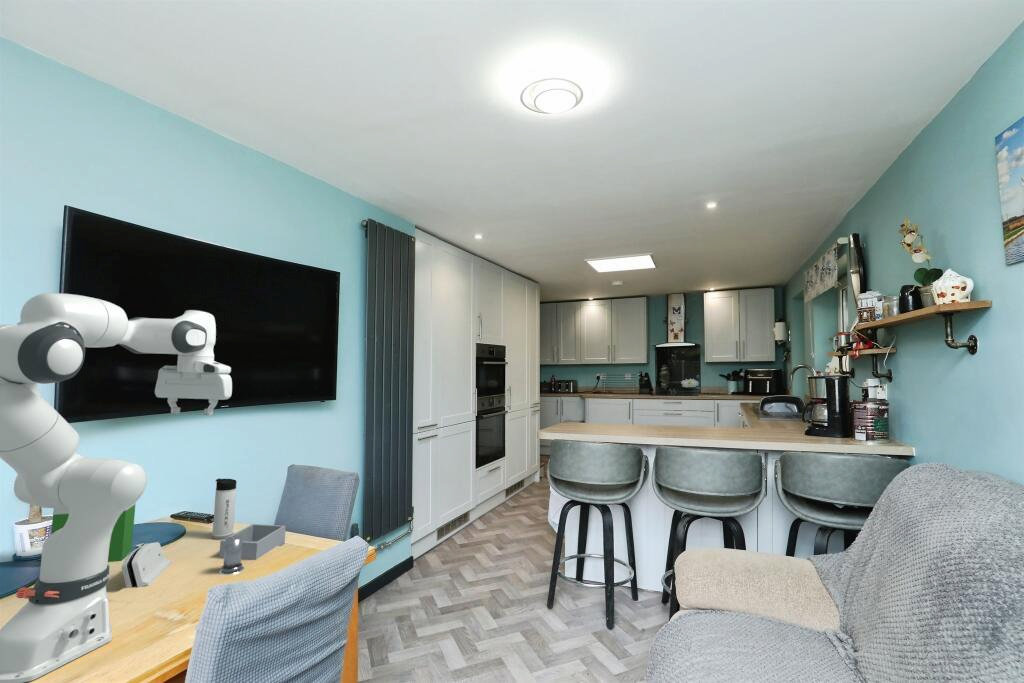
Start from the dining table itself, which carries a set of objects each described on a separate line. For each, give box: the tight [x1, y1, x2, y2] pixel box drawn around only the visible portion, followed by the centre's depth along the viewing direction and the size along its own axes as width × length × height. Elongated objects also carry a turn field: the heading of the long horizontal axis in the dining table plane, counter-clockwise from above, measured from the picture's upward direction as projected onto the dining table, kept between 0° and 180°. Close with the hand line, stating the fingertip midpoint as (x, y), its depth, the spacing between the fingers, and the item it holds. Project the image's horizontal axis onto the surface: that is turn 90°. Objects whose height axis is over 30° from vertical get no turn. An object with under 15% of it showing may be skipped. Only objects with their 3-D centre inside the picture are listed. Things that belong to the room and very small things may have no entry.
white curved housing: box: [121, 541, 173, 589], centre depth 134 cm, size 17×5×10 cm, turn 17°
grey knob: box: [220, 536, 243, 575], centre depth 139 cm, size 5×5×9 cm
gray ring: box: [218, 565, 245, 576], centre depth 139 cm, size 6×6×1 cm
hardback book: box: [50, 501, 137, 563], centre depth 146 cm, size 18×7×24 cm, turn 110°
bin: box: [218, 523, 286, 561], centre depth 156 cm, size 17×12×6 cm
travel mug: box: [212, 478, 237, 541], centre depth 169 cm, size 6×7×20 cm
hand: (191, 414), depth 138 cm, fingers open, 8 cm apart
